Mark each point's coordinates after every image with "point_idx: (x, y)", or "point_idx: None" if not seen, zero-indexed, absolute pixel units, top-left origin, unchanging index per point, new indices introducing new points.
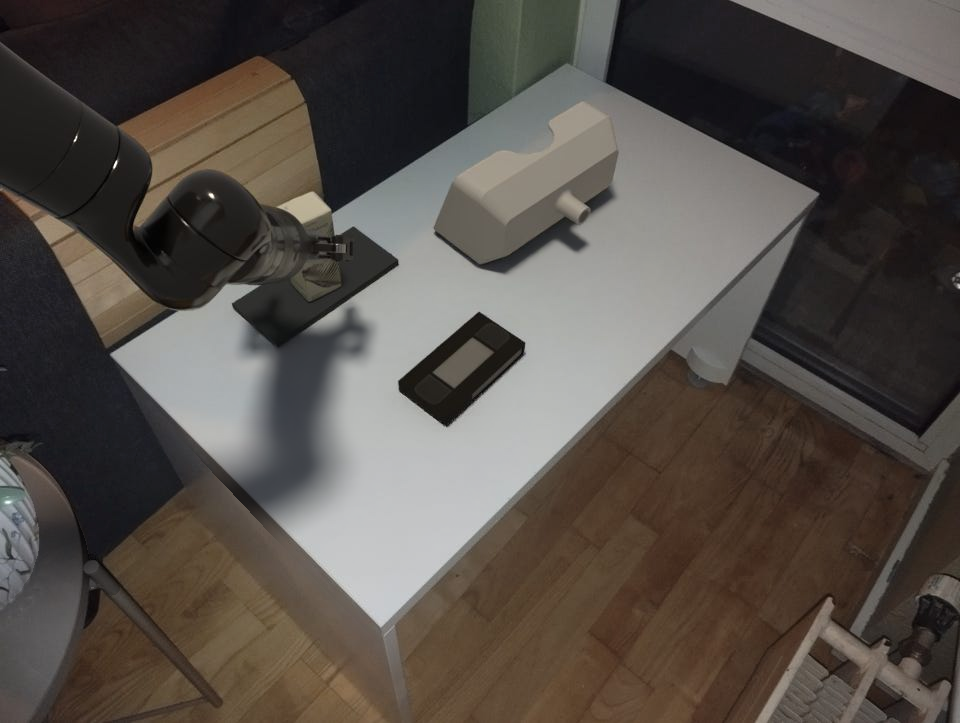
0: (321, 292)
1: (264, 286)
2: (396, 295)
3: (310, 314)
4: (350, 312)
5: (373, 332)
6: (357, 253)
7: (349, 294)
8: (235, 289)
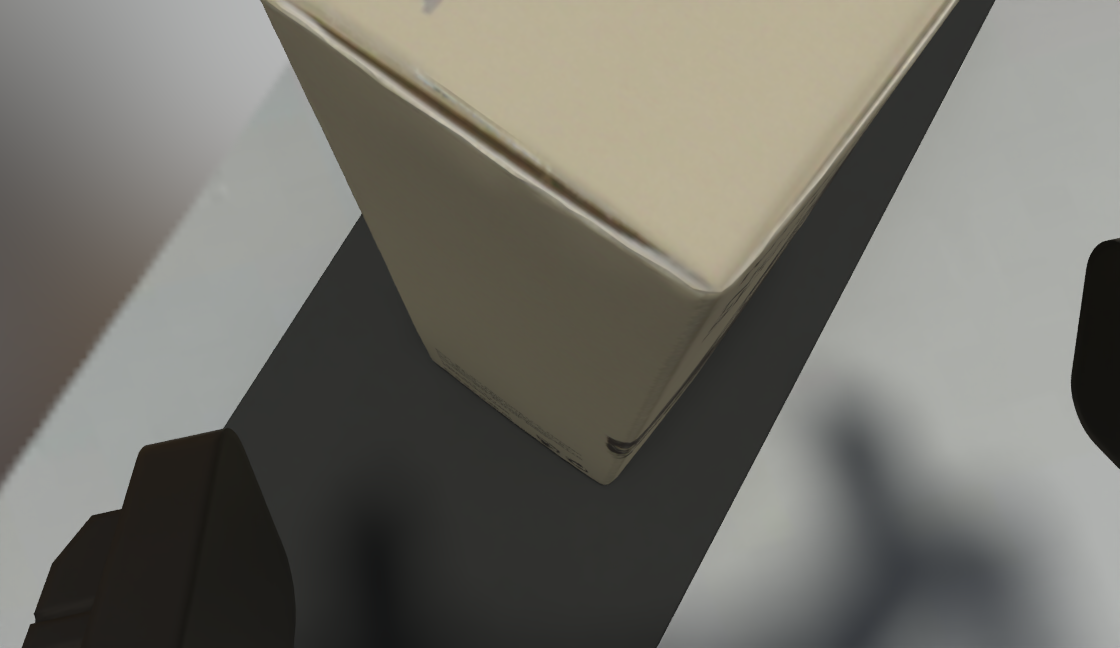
0: (673, 404)
1: (259, 422)
2: (1069, 243)
3: (651, 579)
4: (857, 450)
5: (1062, 572)
6: None
7: (818, 333)
8: (72, 461)
